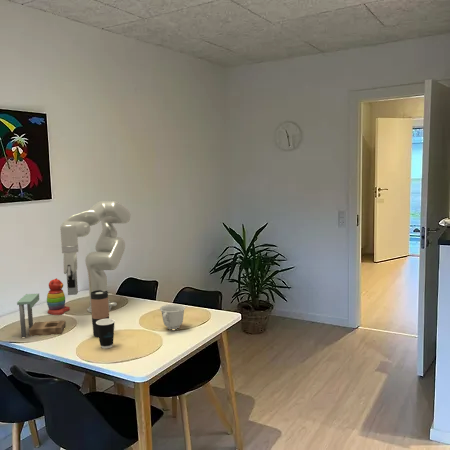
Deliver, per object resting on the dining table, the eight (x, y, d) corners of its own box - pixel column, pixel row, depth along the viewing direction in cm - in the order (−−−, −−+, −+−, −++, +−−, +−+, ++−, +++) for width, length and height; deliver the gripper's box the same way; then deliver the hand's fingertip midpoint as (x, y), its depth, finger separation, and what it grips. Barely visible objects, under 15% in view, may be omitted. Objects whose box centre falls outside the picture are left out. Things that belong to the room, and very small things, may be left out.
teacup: (152, 333, 214) (151, 312, 213) (167, 323, 228) (167, 303, 227) (176, 336, 210) (175, 314, 209) (190, 325, 224) (189, 305, 222)
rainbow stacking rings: (61, 315, 244) (59, 281, 242) (43, 314, 246) (41, 281, 244) (71, 309, 255) (69, 277, 253) (54, 308, 256) (51, 276, 254)
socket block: (65, 326, 226) (65, 320, 226) (61, 334, 216) (60, 327, 215) (35, 328, 224) (35, 322, 224) (29, 336, 214) (29, 329, 214)
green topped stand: (41, 326, 226) (39, 293, 224) (33, 337, 213) (31, 301, 211) (28, 327, 226) (25, 294, 224) (19, 338, 212) (17, 302, 210)
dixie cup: (109, 350, 194) (107, 325, 193) (93, 348, 197) (91, 323, 196) (120, 344, 202) (118, 319, 200) (104, 342, 204) (103, 317, 203)
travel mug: (94, 338, 208) (92, 295, 206) (91, 333, 215) (88, 291, 213) (112, 335, 212) (109, 292, 210) (108, 330, 219) (105, 289, 216)
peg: (77, 292, 230) (76, 268, 228) (76, 294, 226) (74, 270, 224) (69, 292, 229) (67, 268, 228) (67, 295, 225) (66, 270, 224)
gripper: (65, 246, 233) (67, 282, 235) (58, 252, 216) (60, 291, 218) (81, 246, 234) (83, 281, 236) (75, 252, 217) (77, 290, 219)
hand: (72, 286), depth 227 cm, fingers closed on peg, 4 cm apart
